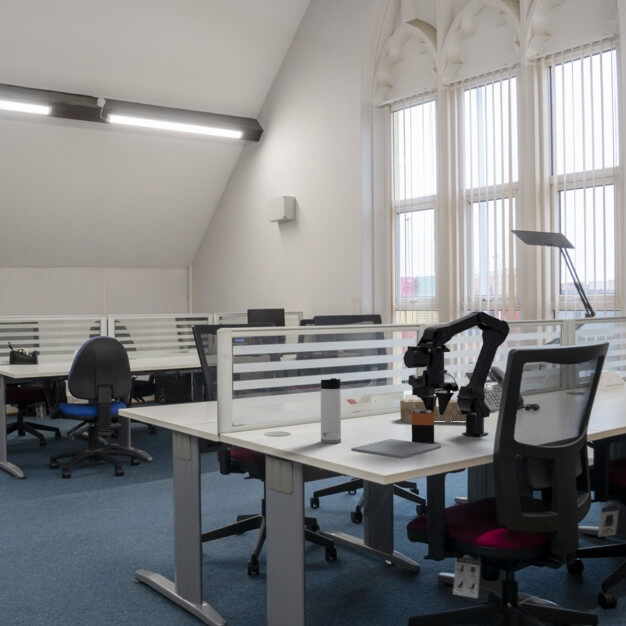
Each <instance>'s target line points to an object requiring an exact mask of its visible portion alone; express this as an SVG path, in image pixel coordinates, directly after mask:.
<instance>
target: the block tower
mask: <svg viewBox="0 0 626 626" xmlns="http://www.w3.org/2000/svg"><path fill="white" fill-rule="evenodd" d="M399 408H400V410H399V411H400V421H401V422H404V423H412V412H413V411H414V409H421V411H426V408H425V405H424V403H423V401H422V400H421V399H420V398H418V399H405V398H401V399H400V401H399ZM434 421H445V422H451V421H452V422H453V421H466V415H462V414H461V411H460V408H459V407H458V404H457V399H450V401H449V403H448V405H447V408H446V410H445V412H444V414H443V415H440V413H439V405H437V403H436V404H435V408H434Z"/></svg>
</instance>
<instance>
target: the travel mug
mask: <svg viewBox="0 0 626 626" xmlns="http://www.w3.org/2000/svg"><path fill="white" fill-rule="evenodd" d="M341 381H342V380H341V378H336V377H334V378H333V377H331V378H330V379H320V442H321V444H322V443H323V444H329V445H331V444H333V445H334V444H340V443H341V442H342V391H341V390H342V389H341Z"/></svg>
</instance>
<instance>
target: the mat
mask: <svg viewBox="0 0 626 626" xmlns="http://www.w3.org/2000/svg"><path fill="white" fill-rule="evenodd" d="M440 448H441V449H442V446H441V445H439V444H434V443H418V442H412V441H411V440H410V441H409V440H402V439H395V438H389V439H385V440H381V441H376V442H372V443H368V444H363V445H359V446H355V447H351V451H354V452H361V453H367V454H372V455H373V454H375V455H380V456H387V457H393V458H400V459H405V458H408V457H412V456H416V455H419V454H422V453H427V452H431V451H434V450H437V449H440Z"/></svg>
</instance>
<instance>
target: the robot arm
mask: <svg viewBox="0 0 626 626" xmlns="http://www.w3.org/2000/svg"><path fill="white" fill-rule="evenodd" d="M474 327H477V328H478V330H480V331H482V332H481V338H482V346H481V349H480V351H479V354H478V357H477V359H476V362H475V365H474V367H473V371H472V374H471V376H470V379H469V382H468V383H467V384H466V385H461V386H460V387H459V385H458V384H457V382H453V381H452V382H451V381H445V380H446V379H445V377H446V375H445V374H447V373H448V369H445V353H450V352H451V350H450V348H448V347H447V346H446V344H447V343H448V342H450V341H451V340H452V339H453V337H454V336H456V335H458V334H460V333H463V332H465V331H468V330H470V329H472V328H474ZM509 334H510V326H509V324H508V322H507V321H506V320H504V319H502V320H501V319H500V318H497V317H494V316H492V315H490V314H488V313H487V312H485V311H482V310H481V311H480V310H479V311H478V310H477V311H472V312H471V313H469V314H467V315H464V316H461V317H459V318H458V319H455V320H453V321H451V322H448V323H445V324H440V325H433V326H428V327H426V328H425V329H424V330H423V333H422V336H421V338H420V339H419V341H418V343H416V346H414V345H412V346H411V345H408V346H407V348H406V349H407V350H405V352H404V355H403V363H404V366H405V367H406V368H408V369H417V368H418V369H420V368H421V369H422V368H425V369H423V371H422V375H418V376H417V375H416V374H414V373H413V374H411V375H408V380H407V381H408V383H407V384H408V385H409V386H411V388H412V389H411V395H412V396H416V397H417V398H418V399H420V400H422V401H423V403H424V405H425V408H426V410H431V412H434V408H435V404H436V405H437V404H438V405H437V406H439V413H440V415H443V414H444V412H445V410H446V408H447V405H448V403H449V401H450V400H452V397H453V396H454V395H455V392H458V391H459V392H458V394H457V395H456V398H457V399H456V400H457V404H458V407H459V408H460V411H461V414H462V415H466V423H465V431H464V432H461V435H462V434H464V435H465V436H470V435H472V436H473V437H483V436H486V434H487V435H489V432H487V431H485V418H489V417H490V414H491V409H490V408H489V407H488V406H487V405H486V403H485V400H486V394H485V385H486V383H487V379H488V376H489V373H490V372H491V368H492V365H493V363H494V360H495V357H496V354H497V352H498V348H500V347H501V346H502V345H503V344H504V343H505V341H506V339H507V338H508V336H509ZM451 391H452V392H451ZM472 436H471V437H472Z"/></svg>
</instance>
